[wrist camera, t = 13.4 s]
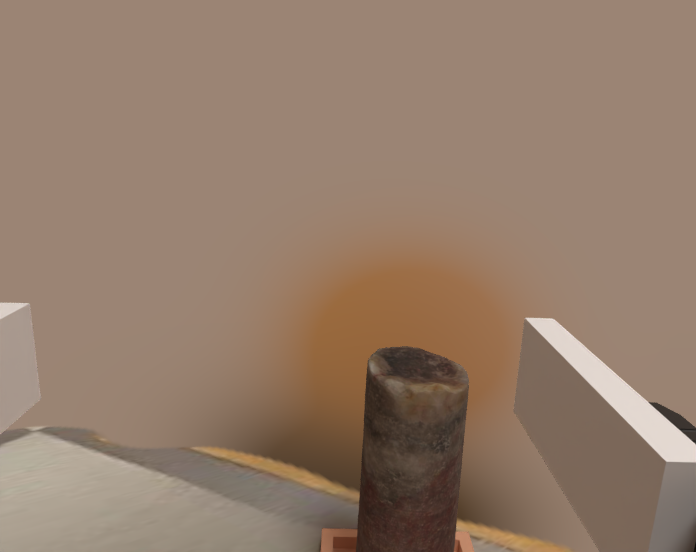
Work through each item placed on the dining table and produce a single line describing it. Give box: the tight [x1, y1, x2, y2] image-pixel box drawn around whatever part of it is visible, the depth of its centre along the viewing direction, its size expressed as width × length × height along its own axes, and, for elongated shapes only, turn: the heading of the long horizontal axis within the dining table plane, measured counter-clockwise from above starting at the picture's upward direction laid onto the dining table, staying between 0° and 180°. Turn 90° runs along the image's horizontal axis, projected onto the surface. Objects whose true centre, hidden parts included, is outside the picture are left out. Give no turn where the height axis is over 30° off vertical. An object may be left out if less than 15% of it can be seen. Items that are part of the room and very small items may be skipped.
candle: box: [356, 346, 469, 552], centre depth 40 cm, size 8×7×20 cm
